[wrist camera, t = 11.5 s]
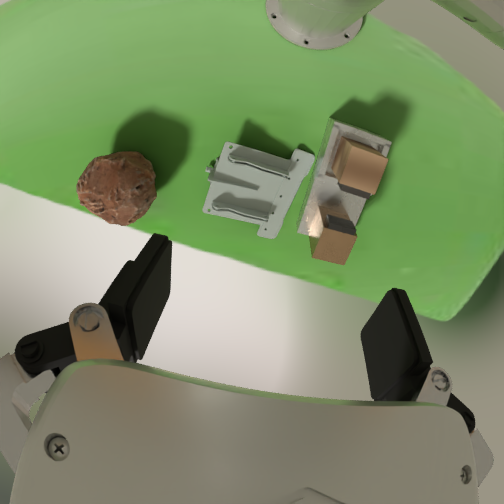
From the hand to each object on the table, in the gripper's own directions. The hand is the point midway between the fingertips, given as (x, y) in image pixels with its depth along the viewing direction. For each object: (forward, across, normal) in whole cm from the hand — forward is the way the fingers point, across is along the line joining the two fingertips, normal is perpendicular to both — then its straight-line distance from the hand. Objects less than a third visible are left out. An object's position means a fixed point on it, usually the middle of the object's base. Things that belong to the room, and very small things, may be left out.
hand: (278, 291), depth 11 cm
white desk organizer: (+30, -10, +4) cm, 32 cm away
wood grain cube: (+27, -9, -1) cm, 29 cm away
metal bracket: (+31, +2, +7) cm, 32 cm away
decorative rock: (+31, +22, +10) cm, 39 cm away
